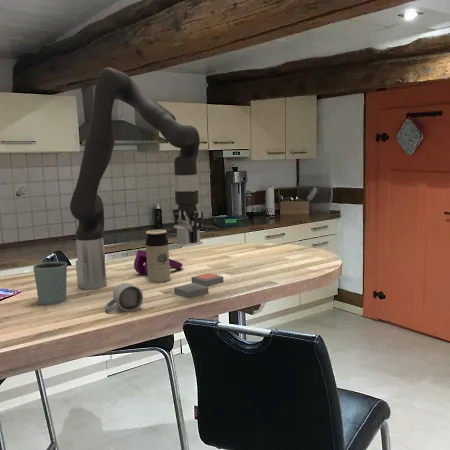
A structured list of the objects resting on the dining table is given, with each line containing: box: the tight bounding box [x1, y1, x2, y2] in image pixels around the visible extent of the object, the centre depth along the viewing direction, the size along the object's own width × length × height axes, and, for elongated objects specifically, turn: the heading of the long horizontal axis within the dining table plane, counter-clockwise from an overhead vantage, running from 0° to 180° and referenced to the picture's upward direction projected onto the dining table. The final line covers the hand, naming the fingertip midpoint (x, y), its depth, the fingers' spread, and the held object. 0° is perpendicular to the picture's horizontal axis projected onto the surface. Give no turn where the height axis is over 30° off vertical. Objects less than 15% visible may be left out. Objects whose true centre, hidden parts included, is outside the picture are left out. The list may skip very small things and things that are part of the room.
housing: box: [173, 223, 204, 248], centre depth 161 cm, size 8×5×7 cm, turn 129°
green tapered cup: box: [32, 261, 68, 306], centre depth 161 cm, size 10×10×12 cm
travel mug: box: [145, 229, 171, 283], centre depth 182 cm, size 8×8×18 cm
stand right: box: [191, 272, 224, 287], centre depth 177 cm, size 8×8×2 cm
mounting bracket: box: [133, 249, 183, 276], centre depth 194 cm, size 9×8×18 cm
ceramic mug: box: [104, 282, 144, 313], centre depth 150 cm, size 11×8×8 cm
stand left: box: [173, 282, 210, 299], centre depth 164 cm, size 8×8×2 cm
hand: (188, 241), depth 162 cm, fingers closed on housing, 5 cm apart
